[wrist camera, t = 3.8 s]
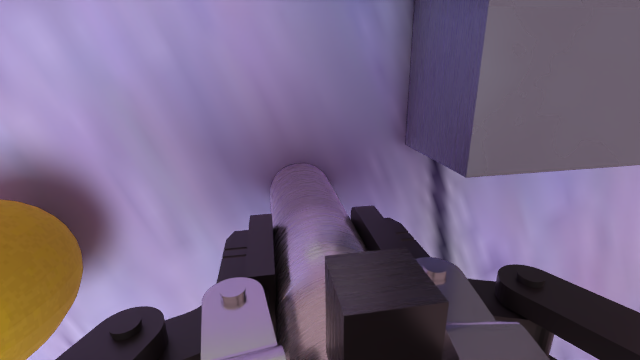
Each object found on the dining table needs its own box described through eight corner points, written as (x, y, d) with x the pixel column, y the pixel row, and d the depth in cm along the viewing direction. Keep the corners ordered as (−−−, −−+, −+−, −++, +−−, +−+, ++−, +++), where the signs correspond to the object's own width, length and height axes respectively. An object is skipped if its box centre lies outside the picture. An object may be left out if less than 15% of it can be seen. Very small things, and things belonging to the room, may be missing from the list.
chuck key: (329, 126, 15) (541, 318, 3) (330, 245, 17) (468, 618, 5) (265, 129, 14) (267, 358, 3) (274, 251, 16) (296, 665, 5)
